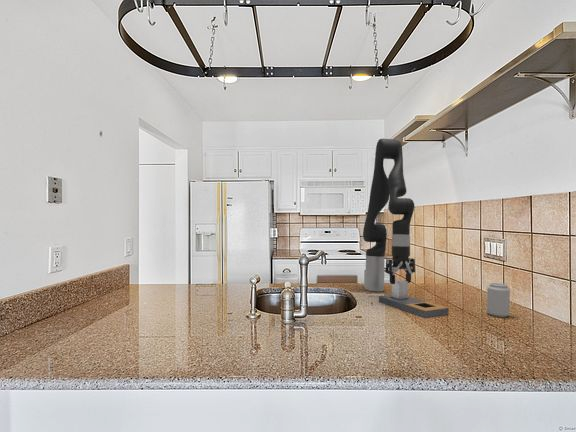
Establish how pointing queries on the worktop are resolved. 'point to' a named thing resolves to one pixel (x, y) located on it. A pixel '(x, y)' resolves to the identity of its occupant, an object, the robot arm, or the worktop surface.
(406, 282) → the peg
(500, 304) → the can
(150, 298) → the worktop surface
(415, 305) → the grey peg board
